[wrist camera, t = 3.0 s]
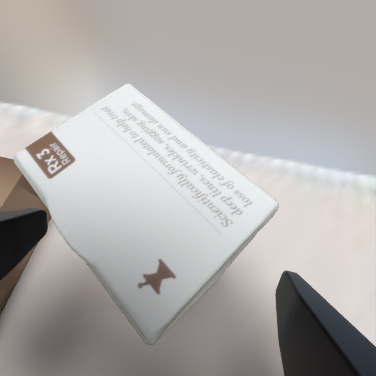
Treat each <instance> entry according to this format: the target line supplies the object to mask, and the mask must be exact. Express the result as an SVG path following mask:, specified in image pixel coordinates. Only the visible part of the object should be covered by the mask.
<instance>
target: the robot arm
mask: <svg viewBox="0 0 376 376" xmlns="http://www.w3.org/2000/svg"><path fill="white" fill-rule="evenodd" d="M47 229H48V225H47V212H46V211H45V210H44V209H40V208H36V207H33V208H26V209H19V210H12V211H6V212H0V281H1V280H2V279H3V278H4V277H5V276H6V275H8V274H9V273H10V272H11V271H12V270H13V269H14V268H15V267H16V266H17V265H18V264H19V263H20V262H21V261H22V260H23V259H24V258H25V256H26V255H27V254H28V253H29V252H30V251H31V250H32V249H33V248H34V247H35V245H36V244H37V243H38V242H39V241H40V240H41V239H42V238H43V237H44V236H45V234H46V233H47ZM276 311H277V326H278V339H279V346H280V352H281V358H282V364H283V369H284V375H285V376H376V347H375V346H374V345H373V344H372V343H371V342H370V341H369V340H368V339H367V338H366V337H365V336H364V335H363V334H361V333H360V332H359V331H358V330H357V329H356V328H355V327H354V326H353V325H352V324H351V323H350V322H349V321H348V320H347V319H345V318H344V317H343V316H342V315H341V314H340V313H339V312H338V311H337V310H336V309H335V308H334V307H333V306H332V305H330V304H329V303H328V302H327V301H326V300H325V299H324V298H323V297H322V296H321V295H320V294H319V293H318V292H317V291H315V290H314V289H313V288H312V287H311V286H310V285H309V284H308V283H307V282H306V281H305V280H304V279H303V278H302V277H301V276H299V275H298V274H297V273H294V272H290V271H284V272H283V273H282V276H281V278H280V281H279V284H278V286H277V289H276Z"/></svg>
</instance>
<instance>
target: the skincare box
mask: <svg viewBox="0 0 376 376" xmlns="http://www.w3.org/2000/svg"><path fill="white" fill-rule="evenodd" d="M14 162H15V164H16V166H17V167H18V168H19V169H20V171H21V172H22V174H23V175H24V176H25V178H26V179H27V181H28V182H29V183H30V185H31V186H32V188H33V189H34V190H35V192H36V193H37V194H38V196H39V197H40V199H41V200H42V201H43V203H44V204H45V206H46V207H47V208H48V210H49V213H50V215H51V217H52V219H53V222H54V224H55V226H56V228H57V229H58V231H59V232H60V234H61V235H62V236H63V238H64V240H65V241H66V242H67V244H68V245H69V246H70V247H71V248H72V249H73V250H74V251H75V252H76V253H77V254H78V255H79V256H80V257H81V258H82V259H84V260H85V262H86V263H87V265H88V266H89V267H90V269H91V270H92V271H93V273H94V274H95V275H96V277H97V278H98V279H99V281H100V282H101V284H102V285H103V286H104V288H105V289H106V290H107V292H108V293H109V295H110V296H111V297H112V299H113V300H114V302H115V303H116V304H117V306H118V307H119V308H120V310H121V311H122V312H123V313H124V315H125V316H126V317H127V319H128V320H129V321H130V323H131V324H132V326H133V327H134V328H135V330H136V331H137V332H138V334H139V335H140V337H141V338H142V339H143V340H144V342H145V343H146V344H149V345H153V344H155V343H156V342H157V341H158V340H159V339H160V338H161V337H162V335H163V334H164V333H165V331H167V330H168V329H169V328H171V327H172V326H173V325H174V324H175V323H176V322H177V321H178V320H179V319H180V318H181V317H182V316H183V315H184V314H185V313H186V312H187V311H188V310H189V309H190V308H191V307H192V306H193V305H194V304H195V302H196V301H197V300H198V299H199V298H200V297H201V296H202V295H203V294H204V293H205V292H206V291H207V290H208V289H209V288H210V287H211V286H212V285H213V284H214V283H215V282H216V281H217V279H218V278H219V277H220V276H221V275H222V274H223V272H224V271H225V270H226V269H227V268H228V266H229V265H230V264H231V263H232V262H233V261H234V259H235V258H236V257H237V256H238V255H239V254H240V252H241V251H242V250H243V249H244V248H245V247H246V246H247V245H248V243H249V242H250V241H251V240H252V239H253V238H254V237H255V235H256V234H257V232H258V231H259V230H260V229H261V228H263V227H264V225H265V224H266V223H267V222H268V221H269V220H270V219H271V218H272V217H273V215H274V214H275V212H276V211H277V210H278V207H279V204H278V201H277V200H275V199H274V198H273V197H272V196H271V195H269V194H268V193H267V192H266V191H264V190H263V189H262V188H260V187H259V186H258V185H257V184H255V183H254V182H253V181H251V180H250V179H249V178H248V177H246V176H245V175H244V174H242V173H241V172H240V171H239V170H237V169H236V168H235V167H234V166H232V165H231V164H230V163H229V162H227V161H226V160H225V159H224V158H222V157H221V156H220V155H218V154H217V153H216V152H215V151H213V150H212V149H211V148H210V147H208V146H207V145H206V144H205V143H203V142H202V141H201V140H199V139H198V138H197V137H196V136H194V135H193V134H192V133H190V132H189V131H188V130H187V129H185V128H184V127H183V126H182V125H181V124H179V123H178V122H177V121H175V120H174V119H173V118H172V117H171V116H169V115H168V114H167V113H165V112H164V111H163V110H162V109H161V108H159V107H158V106H157V105H156V104H154V103H153V102H152V101H151V100H149V99H148V98H147V97H146V96H144V95H143V94H142V93H140V92H139V91H138V90H137V89H135V88H134V87H133V86H132V85H131V84H126V85H124V86H122V87H121V88H119V89H117V90H115V91H114V92H112V93H110V94H109V95H107V96H105V97H104V98H102V99H101V100H99V101H97V102H96V103H94V104H93V105H91V106H89V107H88V108H87V109H85V110H83V111H82V112H80V113H79V114H78V115H76V116H74V117H73V118H71V119H69V120H68V121H66V122H65V123H63V124H61V125H60V126H58V127H57V128H55V129H54V130H52V131H51V132H49V133H48V134H46V135H45V136H43V137H42V138H40V139H39V140H37V141H36V142H34V143H32V144H31V145H29V146H28V147H26V148H24V149H22V150H21V151H19V152H17V153H16V154H15V155H14Z"/></svg>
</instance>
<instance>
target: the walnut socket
mask: <svg viewBox="0 0 376 376" xmlns="http://www.w3.org/2000/svg"><path fill="white" fill-rule="evenodd" d="M33 207H36V208H40V209H44V210H45V211H46V212H47V224H48V222H49V220H50V218H51V215H50V213H49V210H48V208H47V207H46V206H45V204H44V203H43V201H42V200H41V199H40V197H39V196H38V194H37V193H36V192H35V190H34V189H33V188H32V186H31V185H30V183H29V182H28V181H27V179H26V178H25V176H24V175H23V174H22V172H21V171H20V169H19V168H18V167H17V166H16V164H15V162H14V160H13V159H8V158H4V157H0V212H6V211H12V210H19V209H26V208H33ZM36 245H37V244H36ZM36 245H35V247H36ZM35 247H34V248H33V249H32V250H31V251H30V252H29V253H28V254H27V255H26V256H25V258H24V259H23V260H22V261H21V262H20V263H19V264H18V265H17V266H16V267H15V268H14V269H13V270H12V271H11V272H10V273H9V274H8V275H6V276H5V277H4V278H3V279H2V280H1V281H0V313H1V312H2V310H3V308H4V306H5V304H6V302H7V300H8V298H9V296H10V294H11V292H12V291H13V289H14V287H15V285H16V283H17V281H18V279H19V277H20V275H21V273H22V271H23V270H24V268H25V266H26V264H27V262H28V260H29V258H30V256H31V254H32V252H33V250H34V249H35Z"/></svg>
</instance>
